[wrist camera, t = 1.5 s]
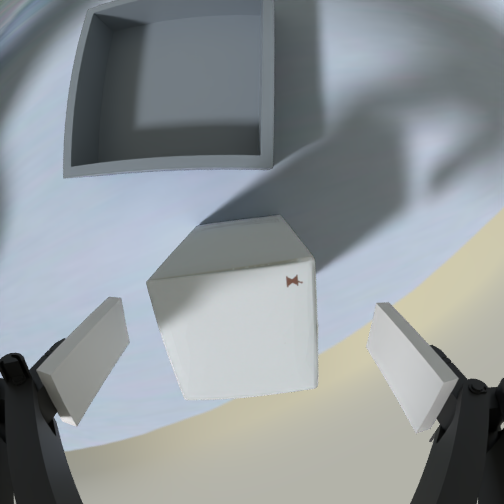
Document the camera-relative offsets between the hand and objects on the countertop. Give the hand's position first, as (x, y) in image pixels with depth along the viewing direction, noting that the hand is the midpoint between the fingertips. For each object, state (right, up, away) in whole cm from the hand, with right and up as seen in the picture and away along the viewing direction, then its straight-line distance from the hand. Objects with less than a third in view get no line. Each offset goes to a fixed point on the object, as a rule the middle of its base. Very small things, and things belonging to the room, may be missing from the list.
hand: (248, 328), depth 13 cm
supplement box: (0, +3, +11) cm, 11 cm away
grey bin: (-6, +18, +7) cm, 20 cm away
